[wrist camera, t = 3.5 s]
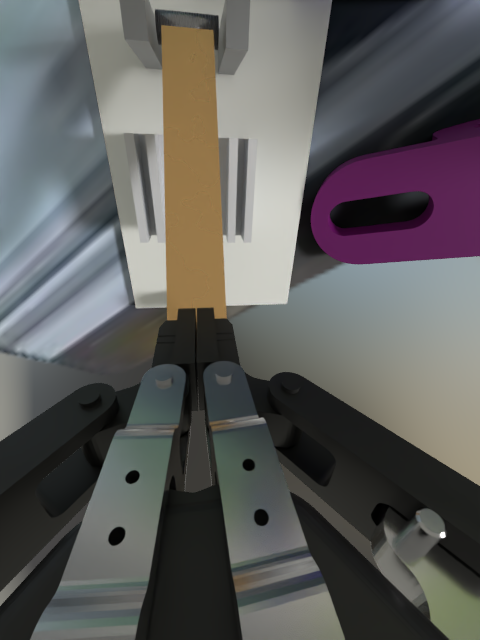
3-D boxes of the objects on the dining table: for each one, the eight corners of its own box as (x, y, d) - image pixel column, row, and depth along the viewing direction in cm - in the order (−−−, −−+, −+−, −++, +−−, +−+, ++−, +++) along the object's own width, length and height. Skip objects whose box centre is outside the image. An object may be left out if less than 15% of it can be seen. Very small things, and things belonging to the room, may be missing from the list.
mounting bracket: (321, 237, 36) (501, 218, 29) (314, 267, 30) (540, 252, 23) (316, 154, 31) (533, 107, 24) (306, 169, 25) (595, 112, 18)
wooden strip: (158, 30, 16) (154, 1, 15) (217, 36, 17) (218, 7, 15) (164, 352, 14) (160, 351, 13) (231, 348, 15) (234, 348, 13)
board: (332, -30, 19) (403, -117, 13) (285, 300, 33) (306, 340, 27) (70, -64, 17) (-10, -190, 11) (137, 304, 31) (121, 349, 25)
